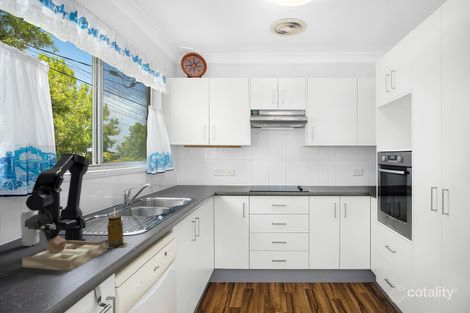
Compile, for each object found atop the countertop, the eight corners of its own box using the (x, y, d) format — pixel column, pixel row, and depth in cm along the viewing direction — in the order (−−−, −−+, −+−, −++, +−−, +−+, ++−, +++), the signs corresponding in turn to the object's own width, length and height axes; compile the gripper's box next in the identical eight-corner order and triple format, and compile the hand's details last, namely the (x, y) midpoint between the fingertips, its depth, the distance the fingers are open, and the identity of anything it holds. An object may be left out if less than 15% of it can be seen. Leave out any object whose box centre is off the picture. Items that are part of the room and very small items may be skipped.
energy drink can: (26, 243, 120) (24, 210, 120) (41, 241, 122) (40, 208, 122) (19, 247, 115) (17, 213, 114) (35, 246, 116) (33, 211, 116)
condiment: (110, 242, 118) (109, 215, 117) (130, 241, 119) (129, 214, 118) (104, 248, 110) (103, 219, 110) (125, 247, 111) (124, 218, 111)
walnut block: (55, 245, 104) (58, 236, 104) (63, 249, 104) (66, 240, 103) (46, 249, 100) (49, 239, 100) (54, 253, 100) (57, 243, 99)
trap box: (65, 248, 112) (64, 240, 112) (106, 250, 108) (106, 242, 108) (22, 267, 94) (22, 257, 94) (70, 270, 90) (69, 260, 90)
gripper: (9, 207, 96) (9, 250, 97) (51, 211, 92) (51, 256, 92) (39, 202, 107) (39, 240, 108) (77, 204, 103) (77, 245, 103)
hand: (51, 245), depth 102 cm, fingers closed, pressing on walnut block
